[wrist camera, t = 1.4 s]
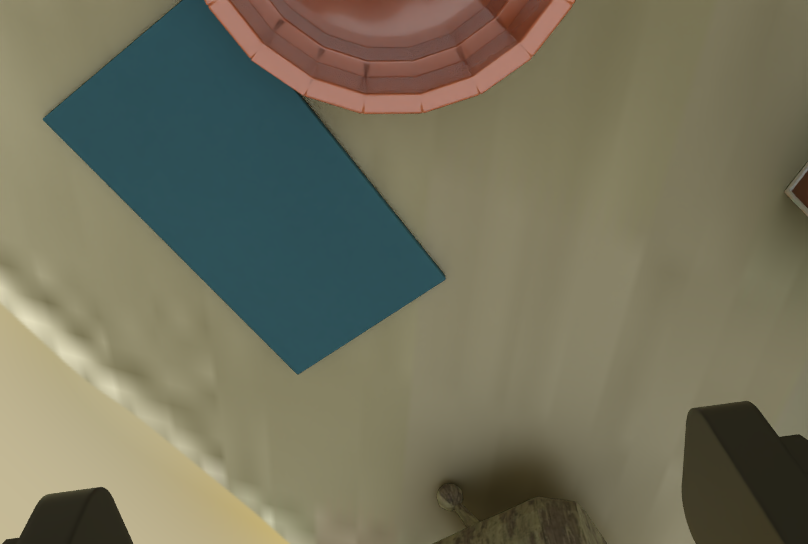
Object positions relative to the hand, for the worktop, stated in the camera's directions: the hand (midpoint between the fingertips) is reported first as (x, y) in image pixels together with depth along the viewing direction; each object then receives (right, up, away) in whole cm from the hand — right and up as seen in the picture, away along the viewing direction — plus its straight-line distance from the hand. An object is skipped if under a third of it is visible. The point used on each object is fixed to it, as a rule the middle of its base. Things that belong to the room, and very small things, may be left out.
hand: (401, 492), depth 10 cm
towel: (-7, +7, +25) cm, 27 cm away
